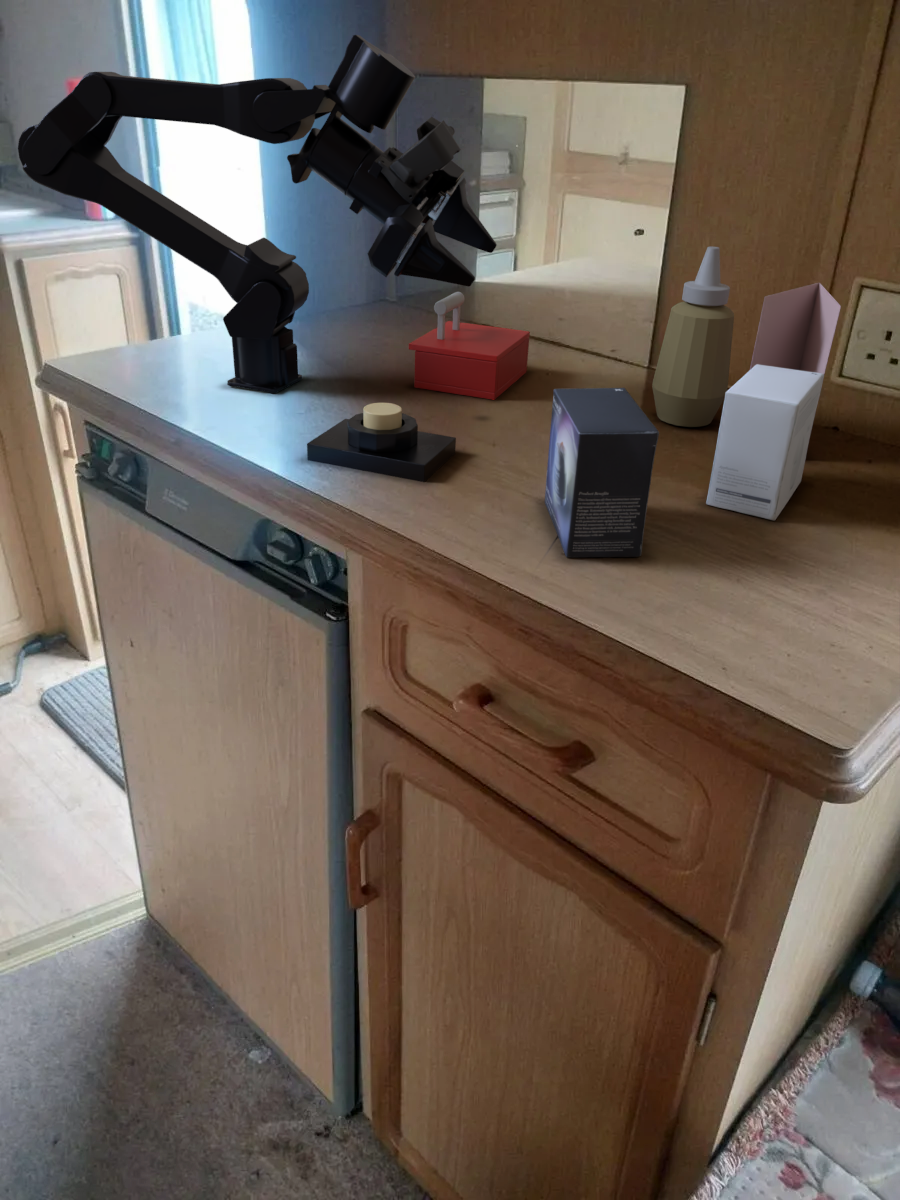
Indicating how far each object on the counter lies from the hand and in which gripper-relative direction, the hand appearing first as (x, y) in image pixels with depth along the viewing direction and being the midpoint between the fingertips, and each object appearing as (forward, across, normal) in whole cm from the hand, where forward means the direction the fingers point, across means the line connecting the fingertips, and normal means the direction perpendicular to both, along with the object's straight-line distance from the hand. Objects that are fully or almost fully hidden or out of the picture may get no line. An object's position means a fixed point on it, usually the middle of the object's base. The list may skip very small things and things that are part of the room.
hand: (483, 265), depth 97 cm
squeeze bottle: (+28, -1, 0) cm, 28 cm away
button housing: (+2, -23, +11) cm, 25 cm away
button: (0, -22, +8) cm, 24 cm away
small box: (+19, -32, -2) cm, 37 cm away
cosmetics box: (+32, -19, -7) cm, 38 cm away
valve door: (+4, +5, +11) cm, 13 cm away
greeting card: (+36, -4, -6) cm, 37 cm away
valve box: (+7, +4, +15) cm, 17 cm away
